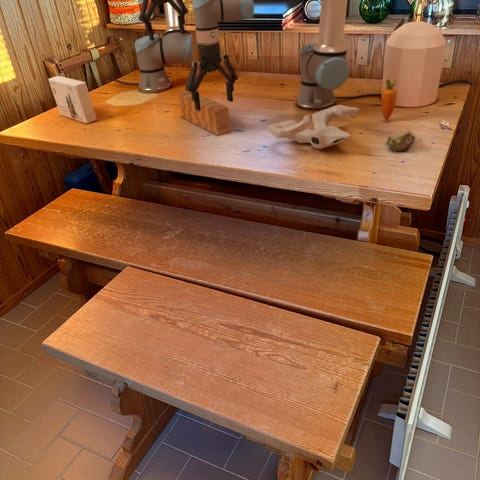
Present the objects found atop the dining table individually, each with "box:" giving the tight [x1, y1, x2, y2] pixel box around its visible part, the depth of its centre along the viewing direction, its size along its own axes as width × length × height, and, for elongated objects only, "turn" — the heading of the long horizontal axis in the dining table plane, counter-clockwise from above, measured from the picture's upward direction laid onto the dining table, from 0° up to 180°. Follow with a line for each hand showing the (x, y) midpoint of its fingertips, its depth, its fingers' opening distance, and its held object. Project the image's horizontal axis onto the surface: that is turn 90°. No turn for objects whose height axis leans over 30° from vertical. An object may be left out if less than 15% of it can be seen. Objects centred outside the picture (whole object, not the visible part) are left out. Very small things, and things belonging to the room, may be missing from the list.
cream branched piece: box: [268, 104, 360, 150], centre depth 153 cm, size 28×26×12 cm
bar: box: [177, 90, 231, 136], centre depth 176 cm, size 28×6×9 cm, turn 34°
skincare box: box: [47, 75, 98, 124], centre depth 192 cm, size 21×6×16 cm, turn 49°
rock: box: [387, 129, 416, 152], centre depth 146 cm, size 11×6×10 cm
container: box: [380, 20, 447, 108], centre depth 175 cm, size 21×21×28 cm
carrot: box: [380, 79, 397, 122], centre depth 161 cm, size 5×5×15 cm
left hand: (167, 36), depth 183 cm, fingers open, 13 cm apart
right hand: (214, 105), depth 166 cm, fingers open, 13 cm apart
